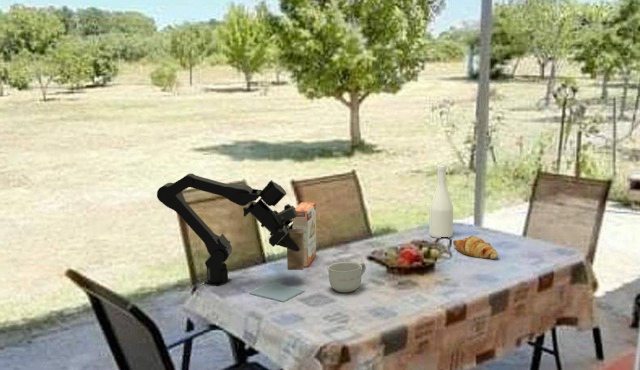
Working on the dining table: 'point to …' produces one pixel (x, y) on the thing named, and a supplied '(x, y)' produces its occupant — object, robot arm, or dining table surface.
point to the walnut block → (293, 257)
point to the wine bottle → (441, 208)
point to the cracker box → (307, 229)
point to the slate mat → (277, 292)
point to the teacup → (346, 275)
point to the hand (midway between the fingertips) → (299, 248)
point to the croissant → (475, 247)
